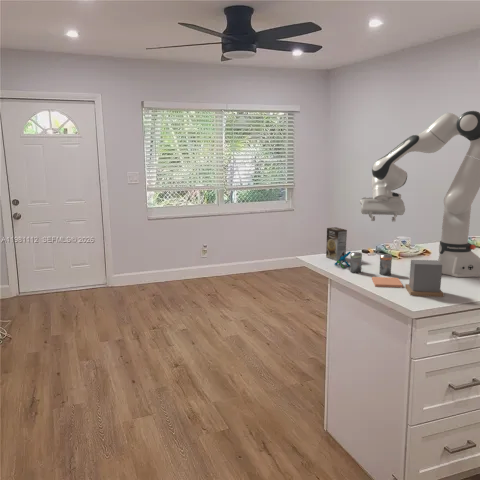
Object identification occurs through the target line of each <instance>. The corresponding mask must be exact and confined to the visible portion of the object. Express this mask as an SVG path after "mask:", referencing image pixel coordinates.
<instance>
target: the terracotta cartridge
mask: <svg viewBox="0 0 480 480" xmlns="http://www.w3.org/2000/svg"><path fill="white" fill-rule="evenodd" d="M392 263H393V255H392V254H390V253H389V254H388V253H381V254H380V255H379V276H380V275H381V276H383V277H385V276H387V277H389V276H392V275H391V274H392Z"/></svg>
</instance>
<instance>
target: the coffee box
mask: <svg viewBox="0 0 480 480" xmlns="http://www.w3.org/2000/svg"><path fill="white" fill-rule="evenodd" d="M347 235H348V230H347V229H345V228H340V227H336V226H335V227H327V228H326V246H325V248H326V252H325V254H326V255H325V256H326V258H328V259H330V260H334V261H336V262H337V261H338V260H339V259H340V258H341V256H342V257H343V256H344V255H345V254H347V238H348V237H347ZM346 258H347V257H345V259H346ZM346 260H347V259H346Z"/></svg>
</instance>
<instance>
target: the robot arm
mask: <svg viewBox="0 0 480 480" xmlns="http://www.w3.org/2000/svg"><path fill="white" fill-rule="evenodd" d="M459 135H460V136H462V137H464V138H465V139H467V140H469V142H470V144H469V146H468V147H469V148H468V150H467V151H466V154H465V156H464V158H463V160H462V161H461V163H460V166H459V168H458V170H457V172H456V174H455V176H454V177H453V180H452V182H451V184H450V186H449V188H448V189H447V190H448V191H447V192H446V194H445V196H444V199H443V206H444V207H443V209H444V210H443V216H442V224H441V225H442V227H441V238H440V241H439V245H438V253H439V255H438V259H437V261H439V262H440V263H441V264H442V274H443V275H446V276H452V277H456V278H475V277H477V278H478V277H479V278H480V257H479V256H478V255H477V254H476V253H474V252H473V251H472V250H476V249H477V246H476V245H475V244H471V243H470V242H469V236H470V235H469V234H470V233H469V232H470V231H469V230H470V219H471V213H472V212H471V210H472V204H473V202H474V200H475V199H476V196H477V194H478V192H479V190H480V112H479V111H476V110H468V111H466V112H464V113H462V114H461V115H459V116H458V115H456V114H455V113H451V112H445V113H443V114H442V115H441V116H439V117H438V118H437V119H436V120H434V121H433V122H432V123H430V125H429V126H428V127H427V128H426V129H424V130H423V131H422V132H420V133H418V134H415V135H414V134H413V135H410V136H409V137H407V138H406V139H404V140H403V141H402V142H401V143H399V144H398V145H397V146H396V147H395V146H394V148H393V149H392V150H390V151H389V152H388V153H387V154H385V155H384V156H382V157H381V158H379V159H377V160H375V162H373V164H372V165H371V173H372V176H371V190H372V194H371V196H372V197H363V198H361V199H360V201H359V203H360V205H361V209H360V213H361V214H362V215H368V217H369V218H370V219H371V220H370V221H371V222H375V221H376V216H374V215H379V216H380V215H381V216H391V222H392V223H395V222H396V219H397V217H398V216H403V215H405V213H406V212H405V211H406V208H405V207H406V206H405V202H404V200H403V199H402V194H401V193H399V192H398V193H397V192H394V191H395V190H398V189H400V188H402V187H404V185H405V184H406V183H407V180H408V172H407V171H405V170H404V169H403V168H401V167H400V166H398V165H396V164H395V163H396V162H398V161H399V160H401V158H403V157H404V156H405V155H407V154H410V153H413V152H419V153H423V154H432V153H433V154H434V153H437V152H438V151H439V150H441V149H442V148H443V147H444V146H445V145H446V144H448V142H450V140H452V139H453V138H454V137H456V136H459Z"/></svg>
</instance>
